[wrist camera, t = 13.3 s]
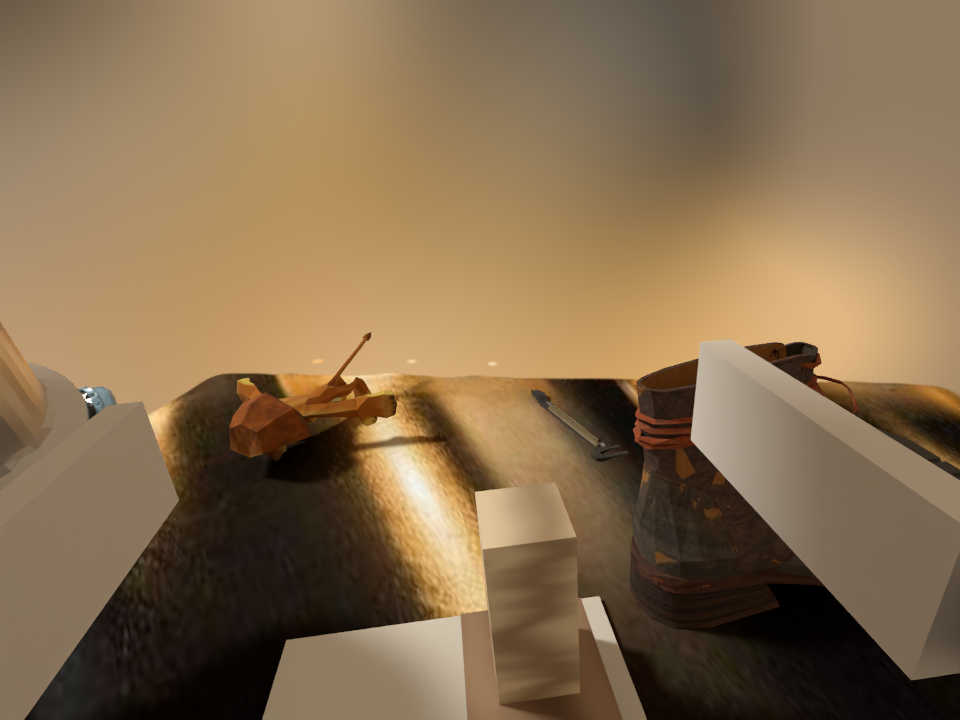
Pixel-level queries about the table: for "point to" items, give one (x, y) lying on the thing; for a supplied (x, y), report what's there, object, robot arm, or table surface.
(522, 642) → the column
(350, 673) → the white flat panel
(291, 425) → the toy
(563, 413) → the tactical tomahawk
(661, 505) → the ankle boot
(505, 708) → the plinth
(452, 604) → the table surface
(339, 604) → the table surface
